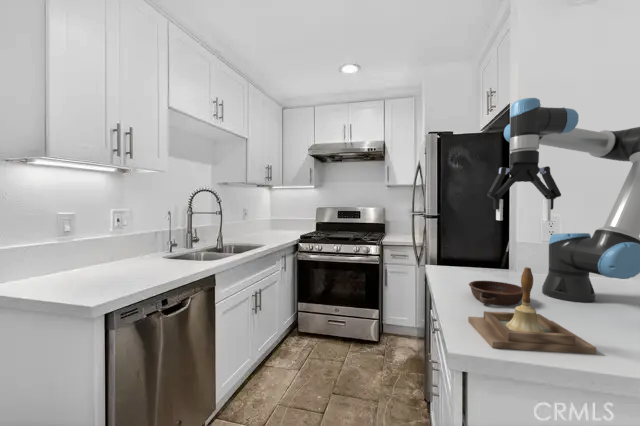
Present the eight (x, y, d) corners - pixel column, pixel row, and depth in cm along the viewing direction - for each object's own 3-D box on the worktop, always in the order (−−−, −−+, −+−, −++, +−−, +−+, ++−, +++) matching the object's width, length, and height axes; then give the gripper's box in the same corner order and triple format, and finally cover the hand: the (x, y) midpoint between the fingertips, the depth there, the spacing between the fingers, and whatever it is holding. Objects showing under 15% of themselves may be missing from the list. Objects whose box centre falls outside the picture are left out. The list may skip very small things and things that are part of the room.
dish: (530, 298, 111) (531, 284, 111) (519, 314, 95) (519, 298, 95) (478, 289, 123) (478, 276, 123) (459, 302, 107) (459, 287, 106)
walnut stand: (551, 325, 85) (552, 313, 85) (596, 354, 70) (596, 338, 69) (468, 321, 88) (468, 309, 88) (492, 347, 72) (492, 333, 72)
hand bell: (543, 327, 80) (544, 266, 80) (546, 339, 73) (548, 272, 73) (505, 321, 85) (507, 263, 84) (505, 331, 78) (507, 268, 77)
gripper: (560, 152, 97) (558, 219, 98) (476, 154, 100) (475, 219, 101) (577, 148, 90) (575, 221, 90) (486, 150, 93) (485, 220, 93)
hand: (522, 220), depth 96 cm, fingers open, 13 cm apart
